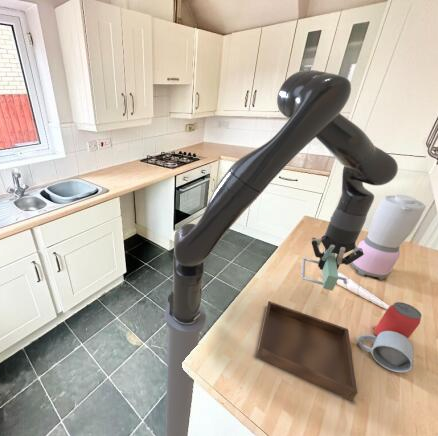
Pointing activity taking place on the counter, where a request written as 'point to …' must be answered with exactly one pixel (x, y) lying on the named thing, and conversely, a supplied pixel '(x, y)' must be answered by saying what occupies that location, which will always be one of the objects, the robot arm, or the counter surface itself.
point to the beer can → (399, 319)
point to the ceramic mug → (390, 350)
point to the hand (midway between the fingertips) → (326, 269)
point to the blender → (388, 234)
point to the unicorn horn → (360, 291)
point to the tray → (308, 349)
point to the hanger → (326, 272)
